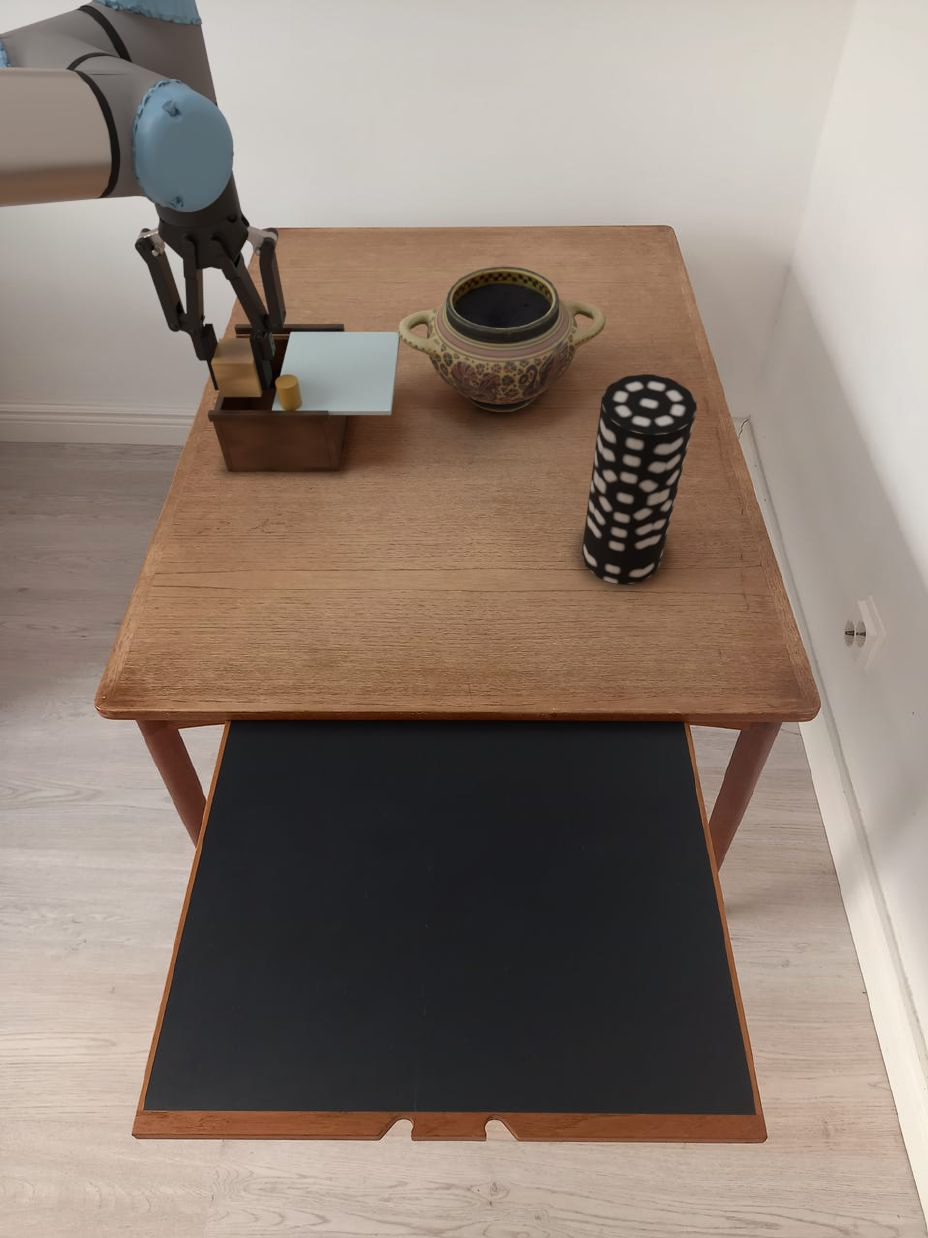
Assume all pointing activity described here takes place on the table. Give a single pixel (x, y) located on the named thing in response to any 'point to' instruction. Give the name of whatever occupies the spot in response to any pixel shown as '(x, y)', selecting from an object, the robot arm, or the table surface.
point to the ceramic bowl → (502, 336)
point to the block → (235, 368)
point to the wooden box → (278, 423)
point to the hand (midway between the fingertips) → (243, 382)
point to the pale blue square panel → (339, 373)
